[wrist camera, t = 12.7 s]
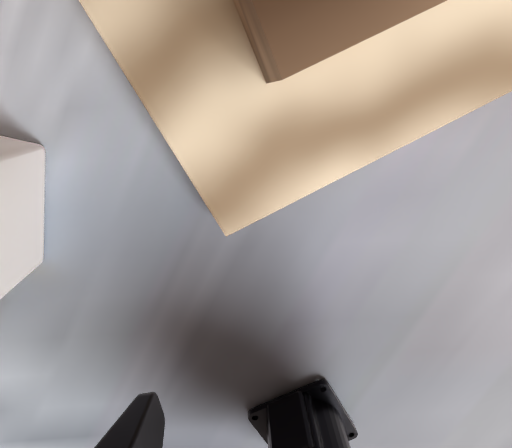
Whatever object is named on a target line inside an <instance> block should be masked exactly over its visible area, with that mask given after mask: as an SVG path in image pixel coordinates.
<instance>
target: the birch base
mask: <svg viewBox="0 0 512 448" xmlns="http://www.w3.org/2000/svg"><path fill="white" fill-rule="evenodd" d="M79 2H80V3H81V5H82V7H83V8H84V10H85V11H86V13H87V15H88V16H89V18H90V19H91V21H92V23H93V24H94V26H95V27H96V29H97V31H98V32H99V34H100V35H101V37H102V39H103V40H104V42H105V43H106V45H107V47H108V48H109V50H110V51H111V53H112V55H113V56H114V58H115V59H116V61H117V63H118V64H119V66H120V67H121V69H122V71H123V72H124V74H125V76H126V77H127V79H128V80H129V82H130V84H131V85H132V87H133V88H134V90H135V92H136V93H137V95H138V96H139V98H140V100H141V101H142V103H143V104H144V106H145V108H146V109H147V111H148V112H149V114H150V116H151V117H152V119H153V120H154V122H155V124H156V125H157V127H158V128H159V130H160V132H161V133H162V135H163V136H164V138H165V140H166V141H167V143H168V144H169V146H170V148H171V149H172V151H173V152H174V154H175V156H176V157H177V159H178V160H179V162H180V164H181V165H182V167H183V169H184V170H185V172H186V173H187V175H188V177H189V178H190V180H191V181H192V183H193V185H194V186H195V188H196V189H197V191H198V193H199V194H200V196H201V197H202V199H203V201H204V202H205V204H206V205H207V207H208V209H209V210H210V212H211V213H212V215H213V217H214V218H215V220H216V221H217V223H218V225H219V226H220V228H221V229H222V231H223V233H224V234H225V236H228V235H230V234H232V233H234V232H236V231H238V230H240V229H242V228H244V227H246V226H248V225H250V224H252V223H254V222H256V221H258V220H260V219H262V218H264V217H265V216H267V215H269V214H271V213H273V212H275V211H277V210H279V209H281V208H283V207H285V206H287V205H289V204H291V203H293V202H295V201H297V200H299V199H301V198H303V197H305V196H307V195H309V194H311V193H313V192H315V191H316V190H318V189H320V188H322V187H324V186H326V185H328V184H330V183H332V182H334V181H336V180H338V179H340V178H342V177H344V176H346V175H348V174H350V173H352V172H354V171H356V170H358V169H360V168H362V167H364V166H366V165H368V164H369V163H371V162H373V161H375V160H377V159H379V158H381V157H383V156H385V155H387V154H389V153H391V152H393V151H395V150H397V149H399V148H401V147H403V146H405V145H407V144H409V143H411V142H413V141H415V140H417V139H419V138H420V137H422V136H424V135H426V134H428V133H430V132H432V131H434V130H436V129H438V128H440V127H442V126H444V125H446V124H448V123H450V122H452V121H454V120H456V119H458V118H460V117H462V116H464V115H466V114H468V113H470V112H472V111H473V110H475V109H477V108H479V107H481V106H483V105H485V104H487V103H489V102H491V101H493V100H495V99H497V98H499V97H501V96H503V95H505V94H507V93H509V92H511V91H512V0H447V1H445V2H443V3H441V4H439V5H437V6H435V7H433V8H430V9H428V10H426V11H424V12H422V13H420V14H418V15H416V16H414V17H412V18H410V19H408V20H406V21H404V22H401V23H399V24H397V25H395V26H393V27H391V28H389V29H387V30H385V31H383V32H381V33H379V34H377V35H375V36H372V37H370V38H368V39H366V40H364V41H362V42H360V43H358V44H356V45H354V46H352V47H350V48H348V49H346V50H343V51H341V52H339V53H337V54H335V55H333V56H331V57H329V58H327V59H325V60H323V61H321V62H319V63H317V64H314V65H312V66H310V67H308V68H306V69H304V70H302V71H300V72H298V73H296V74H294V75H292V76H290V77H288V78H285V79H283V80H280V81H276V82H271V83H267V84H266V81H265V79H264V76H263V74H262V71H261V69H260V66H259V64H258V61H257V59H256V56H255V54H254V52H253V49H252V47H251V44H250V42H249V39H248V37H247V34H246V32H245V29H244V27H243V24H242V22H241V19H240V17H239V14H238V12H237V9H236V7H235V4H234V2H233V0H79Z"/></svg>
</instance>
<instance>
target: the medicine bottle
mask: <svg viewBox="0 0 512 448" xmlns="http://www.w3.org/2000/svg"><path fill="white" fill-rule="evenodd" d="M45 153H46V152H45V148H44V147H43V146H42V145H40V144H36V143H32V142H27V141H23V140H18V139H14V138H9V137H5V136H1V135H0V299H1V298H2V297H3V296H5V295H6V294H7V293H8V292H9V291H10V290H11V289H13V288H14V287H15V286H16V285H17V284H18V283H19V282H21V281H22V280H23V279H24V278H25V277H26V276H27V275H29V274H30V273H31V272H32V271H33V270H34V269H35V268H37V267H38V266H39V265H40V264H41V263H42V261H43V259H44V209H45Z"/></svg>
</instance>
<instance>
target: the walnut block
mask: <svg viewBox="0 0 512 448" xmlns="http://www.w3.org/2000/svg"><path fill="white" fill-rule="evenodd" d="M445 1H447V0H233V2H234V4H235V7H236V9H237V12H238V14H239V17H240V19H241V22H242V24H243V27H244V29H245V32H246V34H247V37H248V39H249V42H250V44H251V47H252V49H253V52H254V54H255V56H256V59H257V61H258V64H259V66H260V69H261V71H262V74H263V76H264V79H265V81H266V84H267V83H271V82H276V81H280V80H283V79H285V78H288V77H290V76H292V75H294V74H296V73H298V72H300V71H302V70H304V69H306V68H308V67H310V66H312V65H314V64H317V63H319V62H321V61H323V60H325V59H327V58H329V57H331V56H333V55H335V54H337V53H339V52H341V51H343V50H346V49H348V48H350V47H352V46H354V45H356V44H358V43H360V42H362V41H364V40H366V39H368V38H370V37H372V36H375V35H377V34H379V33H381V32H383V31H385V30H387V29H389V28H391V27H393V26H395V25H397V24H399V23H401V22H404V21H406V20H408V19H410V18H412V17H414V16H416V15H418V14H420V13H422V12H424V11H426V10H428V9H430V8H433V7H435V6H437V5H439V4H441V3H443V2H445Z"/></svg>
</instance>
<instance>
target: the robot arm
mask: <svg viewBox="0 0 512 448" xmlns="http://www.w3.org/2000/svg"><path fill="white" fill-rule="evenodd" d="M321 387H322V388H321ZM248 419H249V421H250V422H251V423H252V425H253V426H254V427H255V429H256V430H257V431H258V432H259V434H260V435H261V436H262V437H263V439H264V440H265V441H266V443H267V444H268V448H350V445H349V440H352V439H354V438H356V437H357V435H358V434H357V430H356V428H355V426H354V424H353V423H352V421H351V419H350V418H349V416H348V414H347V413H346V411H345V409H344V408H343V406H342V405H341V403H340V401H339V400H338V398H337V396H336V395H335V393H334V391H333V390H332V388H331V386H330V385H329V383H328V382H327V381H326V380H319V381H316V382H314V383H312V384H309V385H307V386H305V387H302V388H300V389H297V390H295V391H293V392H290V393H288V394H286V395H283V396H281V397H279V398H276V399H274V400H271V401H269V402H267V403H264V404H262V405H260V406H257V407H255V408H253V409H251V410H249V412H248ZM164 427H165V417H164V413H163V410H162V407H161V404H160V401H159V398H158V396H157V394H156V393H155V392H150V393H143V394H139V395H138V396H137V397H136V398H135V399H134V400H133V402H132V403H131V404H130V405H129V406H128V408H127V409H126V410H125V411H124V412H123V414H122V415H121V416H120V417H119V418H118V420H117V421H116V422H115V423H114V425H113V426H112V427H111V428H110V429H109V431H108V432H107V433H106V434H105V435H104V437H103V438H102V439H101V440H100V441H99V443H98V444H97V445H96V446H95V447H94V448H162V447H163V437H164Z"/></svg>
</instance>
